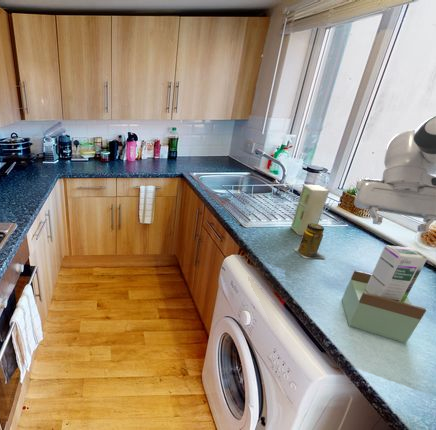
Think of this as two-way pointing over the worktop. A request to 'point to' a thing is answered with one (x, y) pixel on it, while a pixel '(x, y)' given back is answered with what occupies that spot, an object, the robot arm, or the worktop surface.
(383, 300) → the open green tray
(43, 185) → the worktop surface
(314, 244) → the condiment
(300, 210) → the toy refrigerator
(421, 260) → the syrup box
